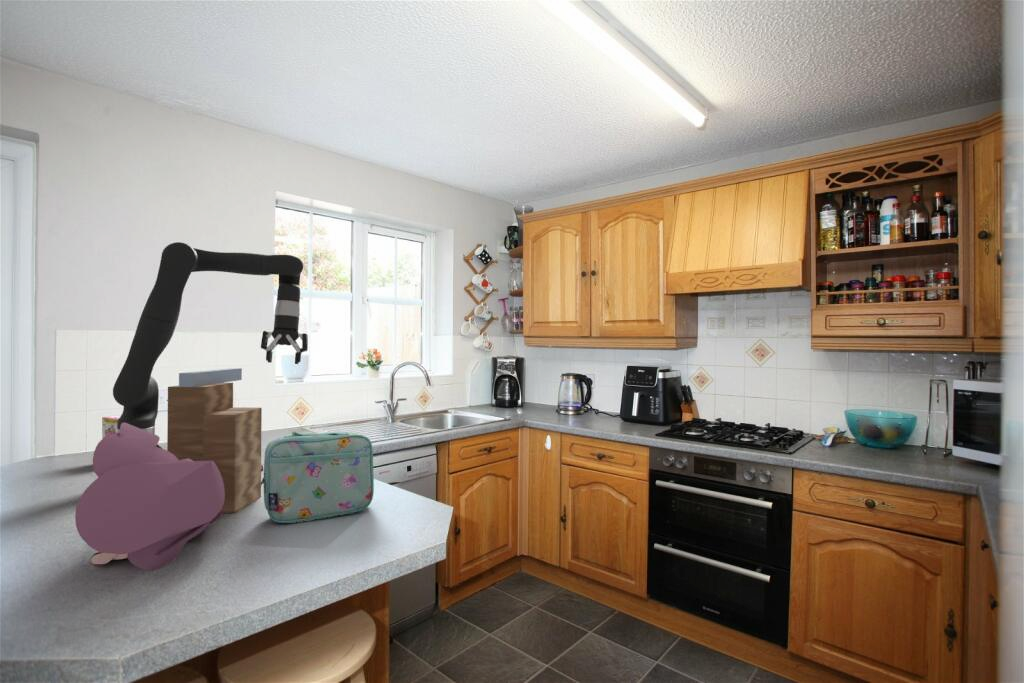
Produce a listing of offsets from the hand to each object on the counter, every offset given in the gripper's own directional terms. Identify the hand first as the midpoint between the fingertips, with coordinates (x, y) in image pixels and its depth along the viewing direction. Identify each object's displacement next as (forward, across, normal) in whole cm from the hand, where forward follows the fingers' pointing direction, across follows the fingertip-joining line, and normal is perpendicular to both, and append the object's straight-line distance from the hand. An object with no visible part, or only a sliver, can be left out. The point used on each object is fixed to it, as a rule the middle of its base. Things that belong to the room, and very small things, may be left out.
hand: (283, 363), depth 169 cm
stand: (+39, -6, -31) cm, 50 cm away
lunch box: (+38, +23, -43) cm, 62 cm away
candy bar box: (+38, -58, +23) cm, 73 cm away
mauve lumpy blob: (+41, -7, -60) cm, 73 cm away
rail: (+7, -11, -27) cm, 30 cm away
